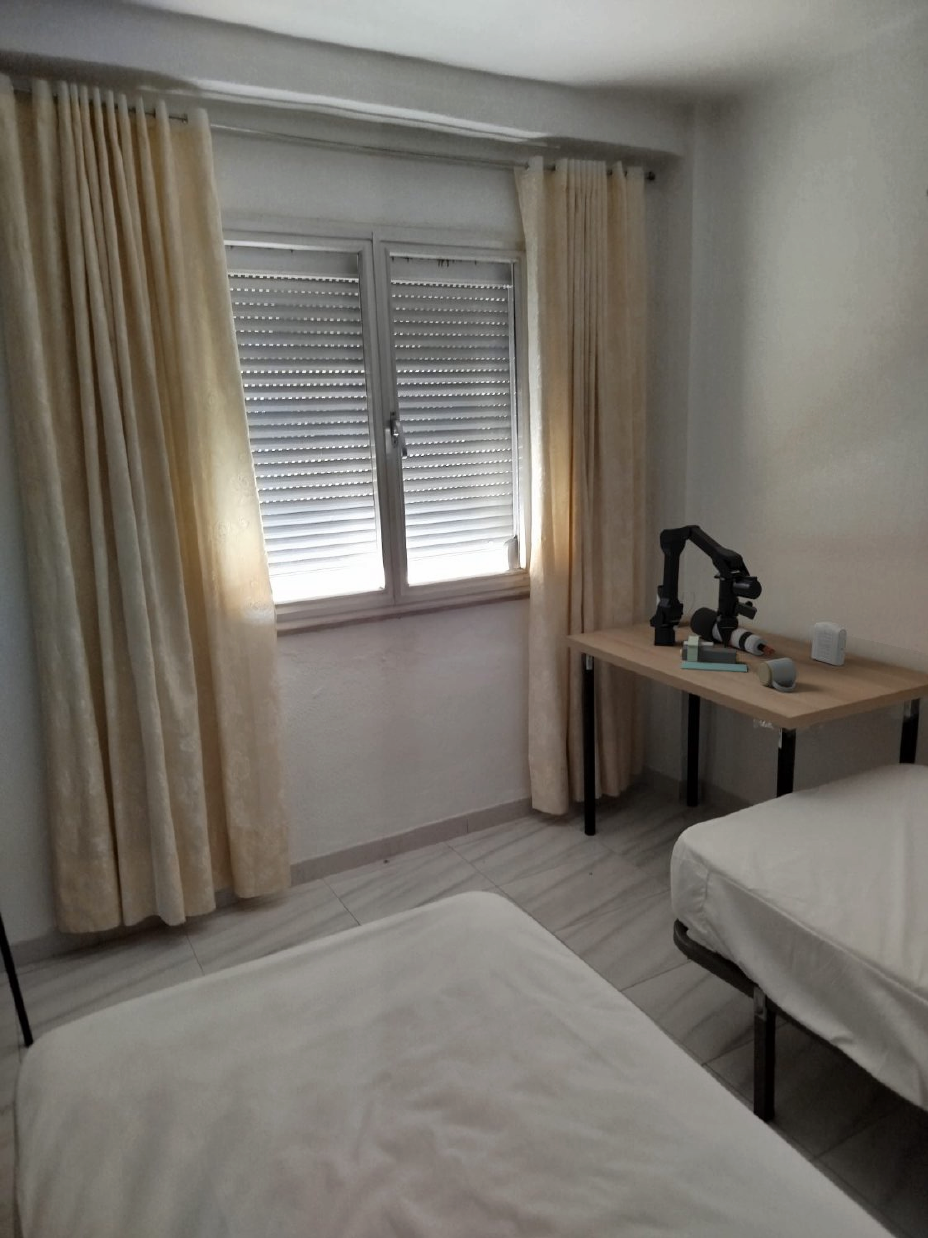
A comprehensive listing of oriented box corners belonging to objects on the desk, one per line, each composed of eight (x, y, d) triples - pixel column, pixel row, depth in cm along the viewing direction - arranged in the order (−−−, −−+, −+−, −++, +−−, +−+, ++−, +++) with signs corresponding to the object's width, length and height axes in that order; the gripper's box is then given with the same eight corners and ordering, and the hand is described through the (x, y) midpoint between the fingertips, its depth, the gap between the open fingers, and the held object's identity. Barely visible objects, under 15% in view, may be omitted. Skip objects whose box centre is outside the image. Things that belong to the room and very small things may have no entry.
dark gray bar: (679, 660, 253) (679, 648, 252) (681, 657, 256) (682, 645, 256) (737, 665, 245) (737, 653, 245) (738, 662, 249) (739, 650, 248)
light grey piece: (687, 662, 249) (687, 645, 248) (688, 651, 262) (689, 635, 261) (697, 663, 248) (697, 645, 247) (698, 652, 261) (698, 635, 260)
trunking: (683, 656, 257) (683, 644, 256) (683, 652, 261) (684, 641, 260) (712, 657, 254) (712, 645, 253) (712, 654, 258) (712, 642, 257)
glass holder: (657, 622, 304) (657, 584, 301) (695, 625, 299) (696, 585, 295) (652, 627, 296) (653, 588, 293) (692, 630, 291) (693, 589, 288)
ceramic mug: (755, 682, 228) (756, 656, 226) (781, 680, 229) (783, 654, 227) (775, 694, 217) (777, 667, 216) (803, 691, 219) (805, 665, 217)
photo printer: (846, 664, 242) (849, 625, 240) (836, 666, 241) (839, 626, 238) (818, 657, 251) (821, 618, 249) (809, 658, 250) (811, 620, 247)
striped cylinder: (763, 672, 252) (756, 648, 247) (694, 639, 281) (686, 617, 276) (787, 655, 254) (780, 631, 249) (716, 624, 283) (708, 601, 278)
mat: (681, 668, 243) (681, 667, 243) (682, 662, 250) (682, 661, 249) (747, 672, 237) (747, 671, 237) (746, 666, 244) (746, 664, 244)
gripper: (757, 601, 234) (754, 652, 237) (754, 589, 251) (752, 637, 254) (717, 600, 237) (715, 650, 240) (717, 588, 254) (715, 636, 258)
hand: (726, 643), depth 248 cm, fingers open, 9 cm apart
